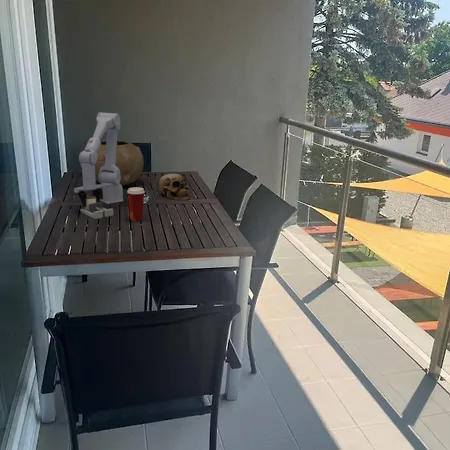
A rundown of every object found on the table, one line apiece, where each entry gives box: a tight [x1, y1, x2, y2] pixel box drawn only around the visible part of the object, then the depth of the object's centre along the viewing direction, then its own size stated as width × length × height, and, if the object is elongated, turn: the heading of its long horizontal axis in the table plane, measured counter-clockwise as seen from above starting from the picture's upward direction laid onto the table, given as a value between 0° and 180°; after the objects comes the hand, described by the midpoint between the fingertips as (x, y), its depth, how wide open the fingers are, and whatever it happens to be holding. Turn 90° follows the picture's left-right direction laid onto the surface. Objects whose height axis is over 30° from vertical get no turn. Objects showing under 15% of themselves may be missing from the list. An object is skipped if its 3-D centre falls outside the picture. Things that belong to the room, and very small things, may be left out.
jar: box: [83, 194, 96, 211], centre depth 212 cm, size 6×6×7 cm
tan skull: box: [158, 173, 191, 201], centre depth 244 cm, size 16×17×13 cm
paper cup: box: [126, 187, 146, 222], centre depth 202 cm, size 8×8×14 cm
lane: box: [80, 207, 114, 220], centre depth 209 cm, size 9×14×3 cm
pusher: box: [89, 201, 104, 213], centre depth 207 cm, size 6×7×5 cm
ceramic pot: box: [95, 139, 145, 187], centre depth 263 cm, size 33×34×25 cm
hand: (90, 205), depth 212 cm, fingers closed on jar, 5 cm apart
